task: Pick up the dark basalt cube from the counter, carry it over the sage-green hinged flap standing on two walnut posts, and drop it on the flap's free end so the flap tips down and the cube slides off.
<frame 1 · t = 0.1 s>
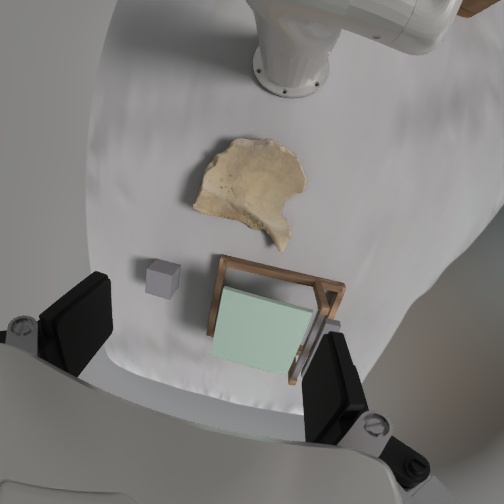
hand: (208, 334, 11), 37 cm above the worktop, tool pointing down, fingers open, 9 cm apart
trapdoor: (272, 339, 43), point 10 cm above the worktop, hinge at -5.2°
rock: (260, 192, 45), on the worktop
stone: (167, 273, 51), on the worktop
frame: (260, 306, 52), on the worktop
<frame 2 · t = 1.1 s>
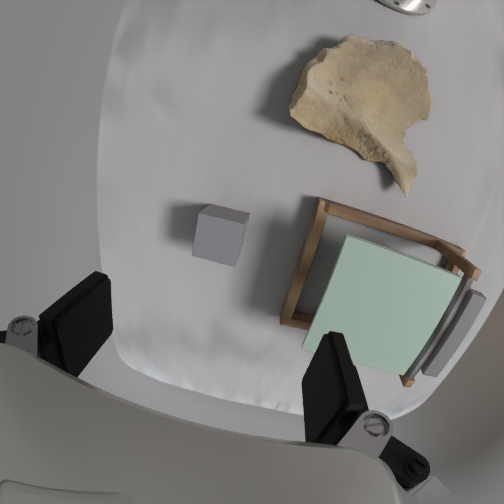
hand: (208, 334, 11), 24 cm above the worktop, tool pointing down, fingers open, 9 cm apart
trapdoor: (401, 320, 26), point 9 cm above the worktop, hinge at -9.6°
rock: (374, 112, 27), on the worktop
stone: (225, 227, 34), on the worktop
frame: (361, 277, 34), on the worktop
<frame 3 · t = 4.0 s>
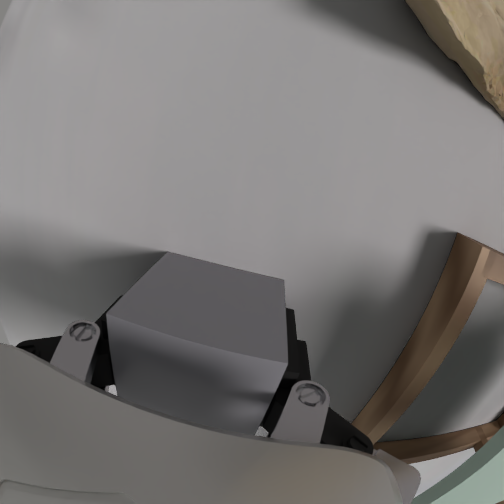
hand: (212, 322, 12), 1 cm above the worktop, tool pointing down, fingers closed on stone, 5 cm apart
stone: (214, 315, 12), on the worktop, touching gripper
frame: (477, 376, 13), on the worktop
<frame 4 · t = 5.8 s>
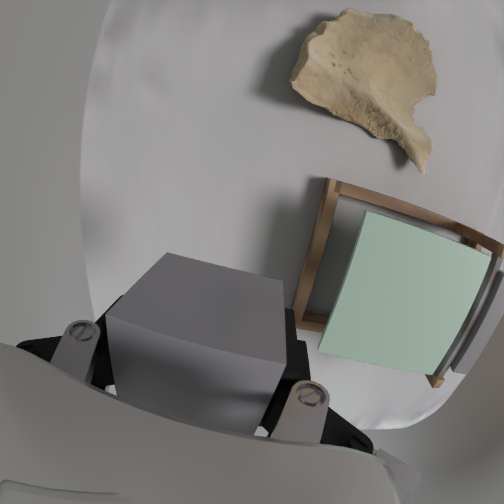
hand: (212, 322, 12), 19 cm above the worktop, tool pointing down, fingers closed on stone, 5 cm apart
trapdoor: (429, 311, 21), point 9 cm above the worktop, hinge at -10.5°
rock: (380, 88, 24), on the worktop
stone: (214, 315, 12), point 18 cm above the worktop, touching gripper
frame: (378, 269, 30), on the worktop
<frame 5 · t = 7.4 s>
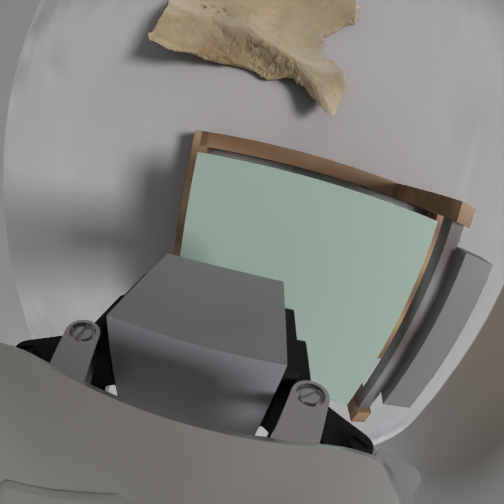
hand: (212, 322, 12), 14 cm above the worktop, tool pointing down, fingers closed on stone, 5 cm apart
trapdoor: (326, 307, 16), point 9 cm above the worktop, hinge at -10.5°
rock: (277, 25, 18), on the worktop
stone: (214, 316, 12), point 13 cm above the worktop, touching gripper
frame: (281, 249, 24), on the worktop
when the fingers open (14 cm above the worktop, at t = 7.9 s): stone drops 9 cm and tips over, resting on frame, trapdoor.
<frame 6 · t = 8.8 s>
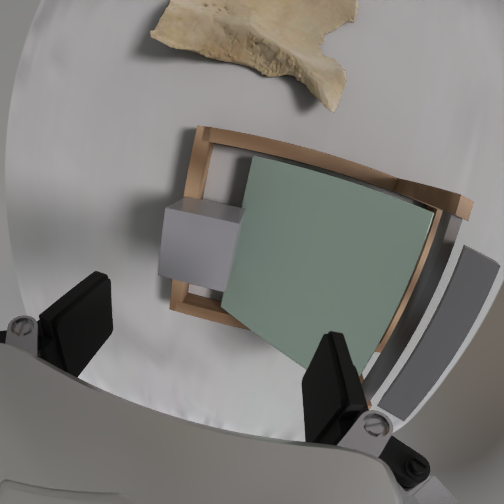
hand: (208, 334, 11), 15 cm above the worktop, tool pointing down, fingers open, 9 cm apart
trapdoor: (334, 287, 18), point 7 cm above the worktop, hinge at -38.9°, touching stone
rock: (278, 23, 18), on the worktop
stone: (236, 247, 20), point 4 cm above the worktop, tilted 89°, touching frame, trapdoor
frame: (282, 243, 25), on the worktop
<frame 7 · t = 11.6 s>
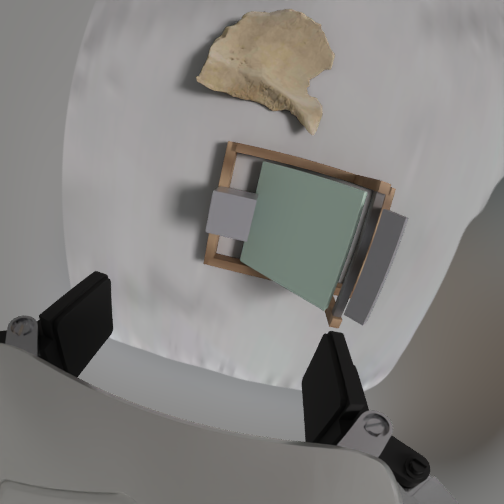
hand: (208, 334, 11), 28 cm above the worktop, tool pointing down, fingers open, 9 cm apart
trapdoor: (312, 238, 31), point 7 cm above the worktop, hinge at -38.9°, touching stone
rock: (279, 70, 31), on the worktop
stone: (253, 216, 33), point 4 cm above the worktop, tilted 89°, touching frame, trapdoor
frame: (281, 217, 37), on the worktop
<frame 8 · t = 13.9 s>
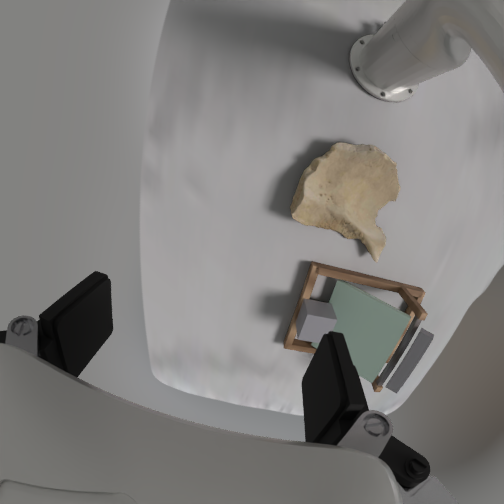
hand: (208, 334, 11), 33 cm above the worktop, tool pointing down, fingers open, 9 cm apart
trapdoor: (369, 340, 41), point 7 cm above the worktop, hinge at -39.0°, touching stone
rock: (354, 199, 41), on the worktop
stone: (329, 323, 43), point 4 cm above the worktop, tilted 89°, touching frame, trapdoor
frame: (343, 314, 48), on the worktop
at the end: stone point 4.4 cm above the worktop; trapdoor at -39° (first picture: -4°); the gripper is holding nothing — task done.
